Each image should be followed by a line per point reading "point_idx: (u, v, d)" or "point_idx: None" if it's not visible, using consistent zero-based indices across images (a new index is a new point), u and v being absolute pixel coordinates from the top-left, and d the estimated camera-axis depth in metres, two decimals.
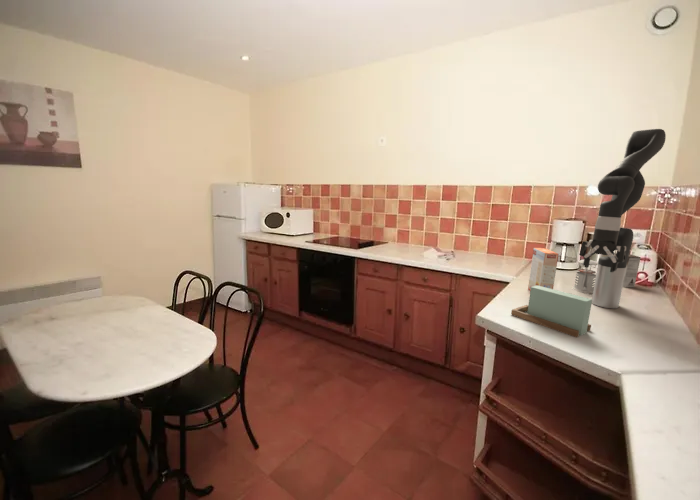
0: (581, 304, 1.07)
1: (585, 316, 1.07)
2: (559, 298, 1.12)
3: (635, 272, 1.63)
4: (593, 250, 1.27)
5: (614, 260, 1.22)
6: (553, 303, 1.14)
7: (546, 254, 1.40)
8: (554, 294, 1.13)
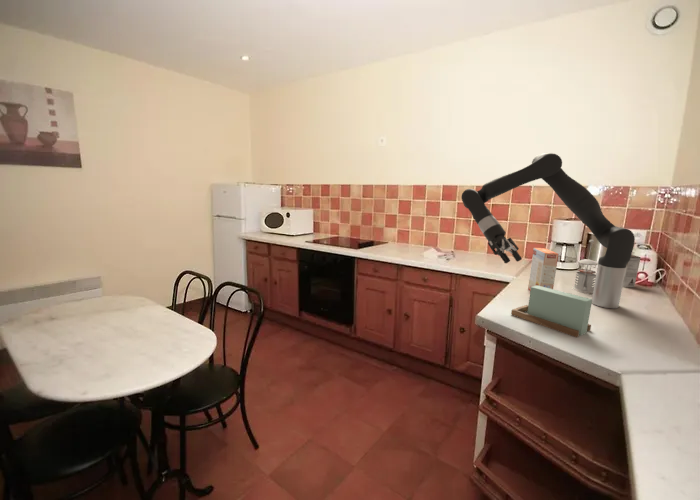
0: (581, 304, 1.07)
1: (585, 316, 1.07)
2: (559, 298, 1.12)
3: (635, 272, 1.63)
4: None
5: None
6: (553, 303, 1.14)
7: (546, 254, 1.40)
8: (554, 294, 1.13)
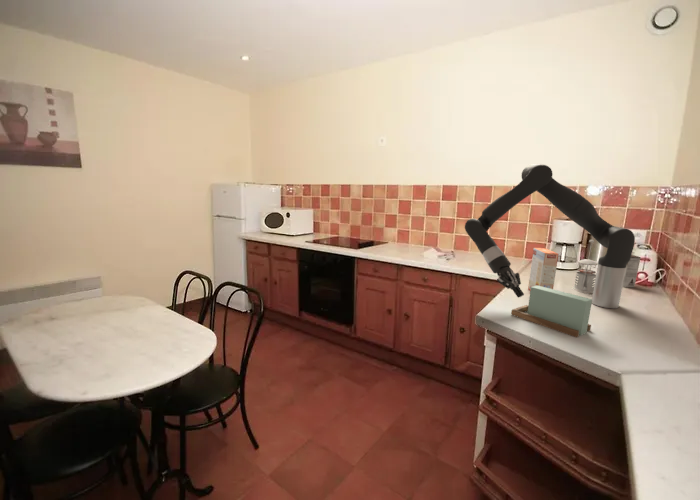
0: (581, 304, 1.07)
1: (585, 316, 1.07)
2: (559, 298, 1.12)
3: (635, 272, 1.63)
4: None
5: None
6: (554, 303, 1.14)
7: (546, 254, 1.40)
8: (554, 294, 1.13)
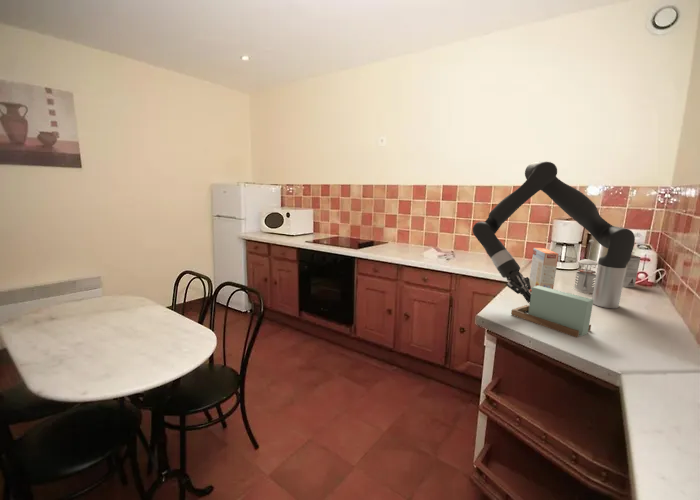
0: (582, 305, 1.06)
1: (586, 316, 1.07)
2: (561, 299, 1.12)
3: (635, 272, 1.63)
4: None
5: None
6: (555, 303, 1.13)
7: (546, 254, 1.40)
8: (555, 294, 1.13)
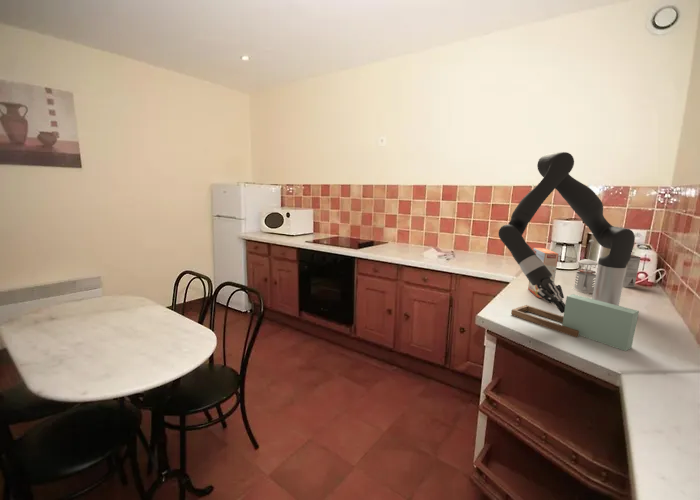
0: (626, 317, 0.96)
1: (631, 329, 0.97)
2: (601, 309, 1.02)
3: (635, 272, 1.63)
4: None
5: None
6: (594, 314, 1.04)
7: (546, 254, 1.40)
8: (594, 304, 1.03)
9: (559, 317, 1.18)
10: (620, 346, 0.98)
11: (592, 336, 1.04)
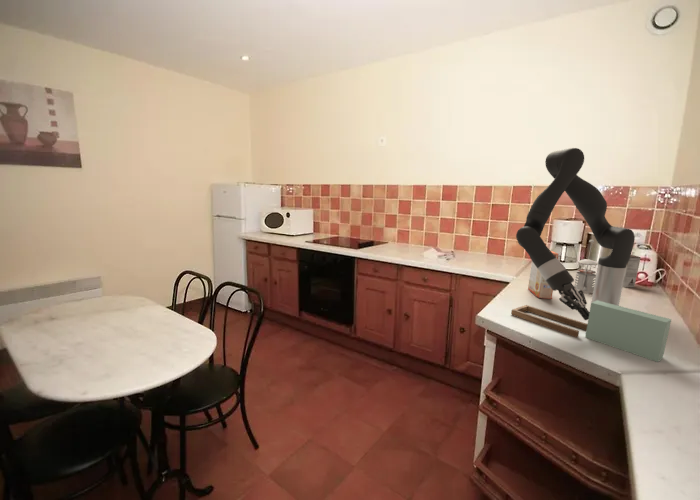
0: (659, 326, 0.91)
1: (664, 339, 0.91)
2: (630, 317, 0.96)
3: (635, 272, 1.63)
4: None
5: None
6: (621, 322, 0.98)
7: None
8: (622, 312, 0.97)
9: (559, 317, 1.18)
10: (651, 357, 0.92)
11: (619, 345, 0.99)
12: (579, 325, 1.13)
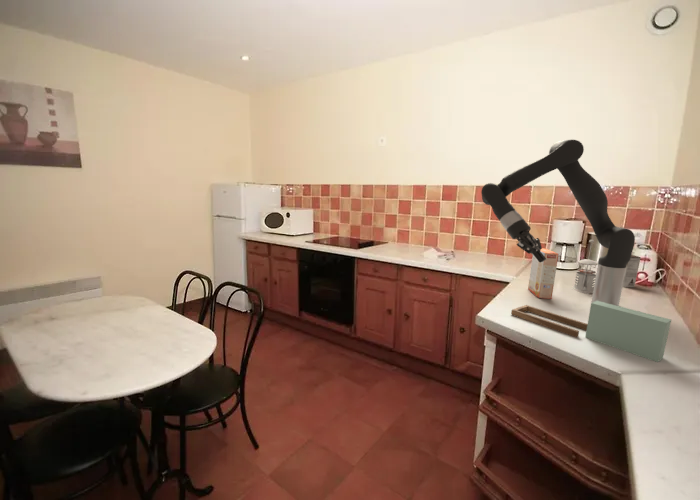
0: (659, 326, 0.91)
1: (664, 340, 0.91)
2: (630, 318, 0.96)
3: (635, 272, 1.63)
4: None
5: None
6: (621, 323, 0.98)
7: (546, 254, 1.40)
8: (622, 312, 0.97)
9: (559, 317, 1.18)
10: (651, 357, 0.92)
11: (619, 346, 0.99)
12: (579, 325, 1.13)
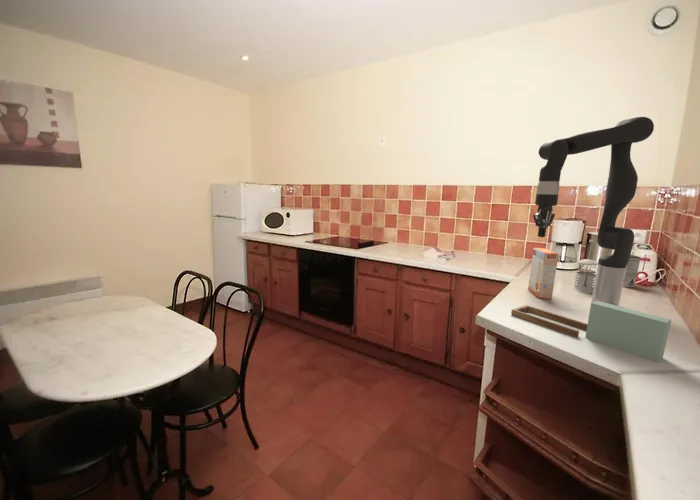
0: (659, 326, 0.91)
1: (664, 339, 0.91)
2: (630, 318, 0.96)
3: (635, 272, 1.63)
4: None
5: None
6: (621, 323, 0.98)
7: (546, 254, 1.40)
8: (622, 312, 0.97)
9: (559, 317, 1.18)
10: (651, 357, 0.92)
11: (619, 346, 0.99)
12: (579, 325, 1.13)
